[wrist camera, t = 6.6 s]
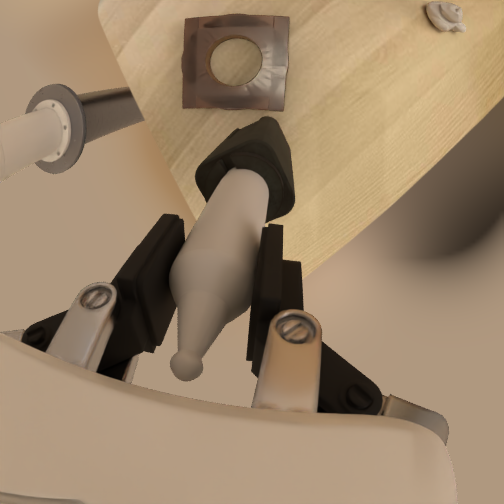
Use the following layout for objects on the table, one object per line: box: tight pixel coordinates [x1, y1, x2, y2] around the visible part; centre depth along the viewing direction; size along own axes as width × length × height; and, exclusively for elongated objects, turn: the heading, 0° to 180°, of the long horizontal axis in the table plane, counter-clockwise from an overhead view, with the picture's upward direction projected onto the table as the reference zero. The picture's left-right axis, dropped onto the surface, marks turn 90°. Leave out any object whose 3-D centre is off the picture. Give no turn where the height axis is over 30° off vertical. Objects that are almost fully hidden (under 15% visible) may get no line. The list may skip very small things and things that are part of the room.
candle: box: [169, 116, 295, 381], centre depth 17 cm, size 5×5×25 cm
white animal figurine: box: [426, 2, 466, 32], centre depth 19 cm, size 5×7×8 cm
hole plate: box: [182, 14, 289, 111], centre depth 32 cm, size 14×14×2 cm
